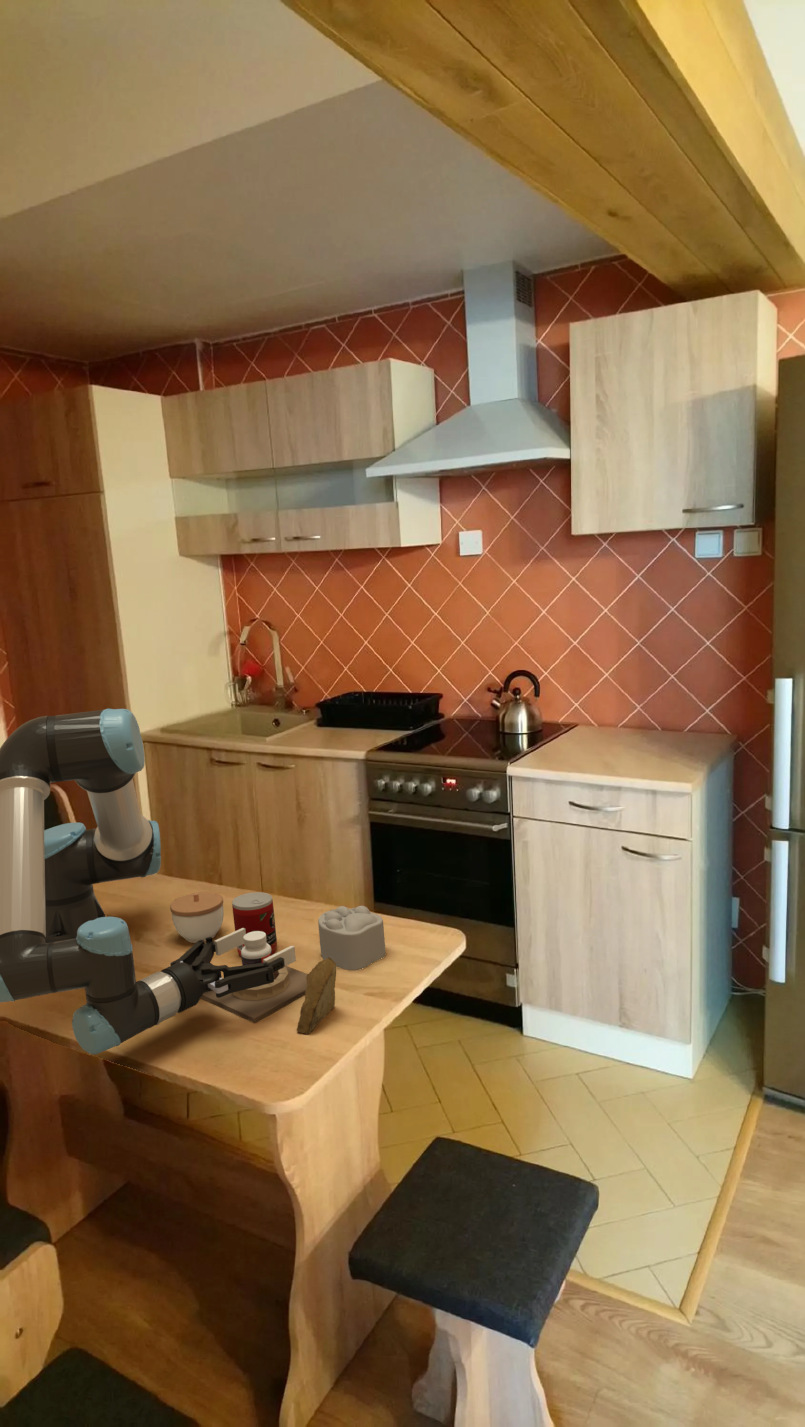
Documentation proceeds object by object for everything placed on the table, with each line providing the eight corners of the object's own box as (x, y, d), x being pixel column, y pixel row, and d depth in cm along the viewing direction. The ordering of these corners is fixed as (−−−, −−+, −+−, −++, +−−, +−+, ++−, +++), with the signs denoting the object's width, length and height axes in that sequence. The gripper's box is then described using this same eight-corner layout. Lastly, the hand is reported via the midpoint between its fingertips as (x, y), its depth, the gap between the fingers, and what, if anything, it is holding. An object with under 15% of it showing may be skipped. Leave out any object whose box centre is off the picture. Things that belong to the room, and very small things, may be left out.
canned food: (270, 961, 171) (264, 907, 169) (231, 960, 173) (225, 906, 171) (283, 943, 178) (277, 891, 176) (245, 942, 180) (240, 891, 178)
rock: (312, 1031, 140) (359, 998, 147) (284, 984, 142) (331, 953, 148) (288, 1046, 148) (333, 1015, 155) (262, 1002, 150) (307, 972, 156)
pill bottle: (269, 993, 156) (264, 942, 155) (240, 993, 157) (234, 942, 155) (278, 979, 162) (273, 929, 160) (250, 978, 162) (245, 929, 161)
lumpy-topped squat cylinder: (354, 974, 163) (350, 930, 162) (307, 955, 172) (303, 913, 171) (392, 953, 171) (389, 910, 169) (346, 936, 180) (343, 896, 178)
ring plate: (197, 996, 159) (195, 981, 158) (266, 961, 171) (264, 948, 170) (254, 1022, 148) (253, 1007, 148) (323, 984, 160) (322, 969, 160)
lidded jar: (209, 950, 178) (204, 905, 176) (164, 945, 181) (158, 902, 180) (236, 927, 188) (231, 885, 186) (192, 924, 191) (187, 882, 189)
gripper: (129, 992, 153) (227, 946, 169) (218, 1036, 137) (318, 981, 153) (124, 952, 152) (223, 909, 168) (213, 992, 136) (314, 940, 151)
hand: (268, 943), depth 160 cm, fingers open, 13 cm apart
